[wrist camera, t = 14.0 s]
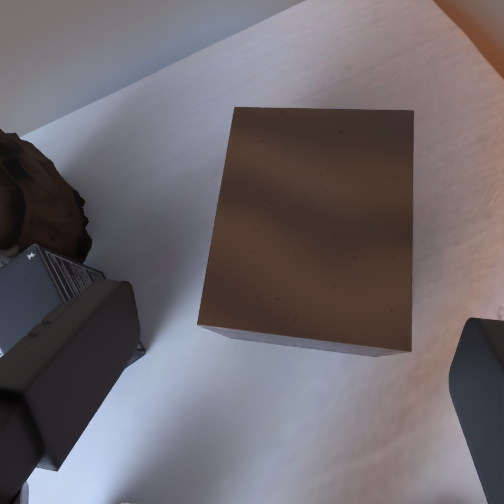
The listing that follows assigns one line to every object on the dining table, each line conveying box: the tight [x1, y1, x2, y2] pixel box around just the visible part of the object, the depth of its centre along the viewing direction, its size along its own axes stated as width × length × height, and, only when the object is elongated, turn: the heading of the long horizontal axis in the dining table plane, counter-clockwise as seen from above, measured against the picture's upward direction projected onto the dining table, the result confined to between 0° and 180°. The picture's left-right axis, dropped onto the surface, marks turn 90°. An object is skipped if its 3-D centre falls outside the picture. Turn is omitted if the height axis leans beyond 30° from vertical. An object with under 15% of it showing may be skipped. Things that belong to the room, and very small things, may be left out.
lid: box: [197, 107, 414, 352], centre depth 27 cm, size 18×14×1 cm
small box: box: [0, 244, 146, 368], centre depth 33 cm, size 11×6×10 cm, turn 34°
